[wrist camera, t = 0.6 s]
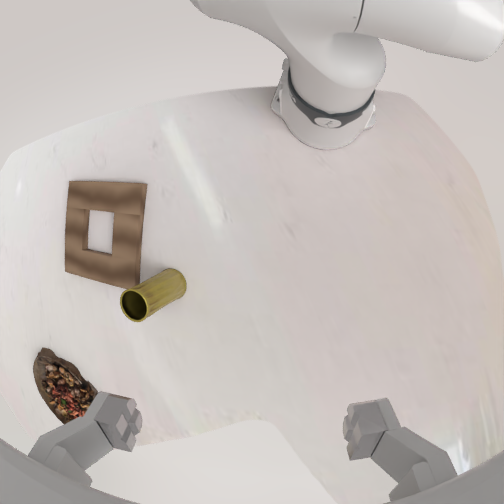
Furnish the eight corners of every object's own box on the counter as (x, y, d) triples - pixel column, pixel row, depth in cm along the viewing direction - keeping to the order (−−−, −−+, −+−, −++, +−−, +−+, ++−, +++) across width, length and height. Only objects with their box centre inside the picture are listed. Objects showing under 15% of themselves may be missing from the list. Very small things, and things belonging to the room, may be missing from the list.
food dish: (135, 421, 62) (122, 437, 54) (94, 442, 69) (83, 455, 62) (52, 326, 61) (34, 336, 53) (29, 369, 68) (15, 378, 61)
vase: (159, 265, 52) (117, 281, 38) (188, 272, 51) (151, 291, 38) (157, 295, 53) (117, 318, 39) (185, 302, 52) (150, 329, 38)
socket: (75, 181, 53) (69, 181, 52) (147, 184, 51) (142, 183, 49) (70, 270, 57) (65, 271, 55) (139, 288, 54) (134, 291, 52)
